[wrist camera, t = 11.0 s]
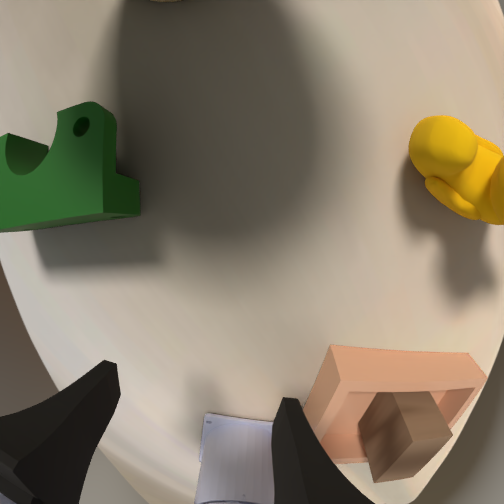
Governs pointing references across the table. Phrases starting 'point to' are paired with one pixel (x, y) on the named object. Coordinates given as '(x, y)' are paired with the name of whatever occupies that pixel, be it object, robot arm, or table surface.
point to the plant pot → (166, 0)
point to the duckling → (460, 168)
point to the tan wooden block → (402, 433)
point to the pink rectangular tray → (383, 380)
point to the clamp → (65, 175)
